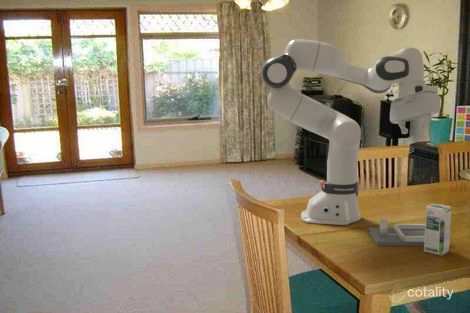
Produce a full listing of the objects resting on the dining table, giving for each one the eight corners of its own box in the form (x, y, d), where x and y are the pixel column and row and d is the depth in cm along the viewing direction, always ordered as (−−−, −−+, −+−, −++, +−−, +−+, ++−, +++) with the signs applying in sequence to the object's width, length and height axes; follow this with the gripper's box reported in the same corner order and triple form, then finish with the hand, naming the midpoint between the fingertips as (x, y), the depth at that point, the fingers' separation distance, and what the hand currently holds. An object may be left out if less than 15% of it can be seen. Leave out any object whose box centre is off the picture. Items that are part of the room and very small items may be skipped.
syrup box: (423, 251, 144) (425, 206, 141) (431, 246, 148) (433, 202, 145) (441, 256, 140) (444, 210, 137) (449, 250, 144) (452, 205, 141)
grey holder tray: (377, 245, 150) (377, 227, 149) (368, 230, 164) (369, 213, 163) (444, 245, 148) (445, 227, 147) (430, 230, 162) (431, 213, 161)
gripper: (384, 99, 174) (386, 135, 172) (428, 84, 156) (431, 124, 154) (397, 101, 177) (399, 136, 175) (442, 86, 159) (445, 126, 157)
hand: (415, 131), depth 164 cm, fingers open, 8 cm apart
